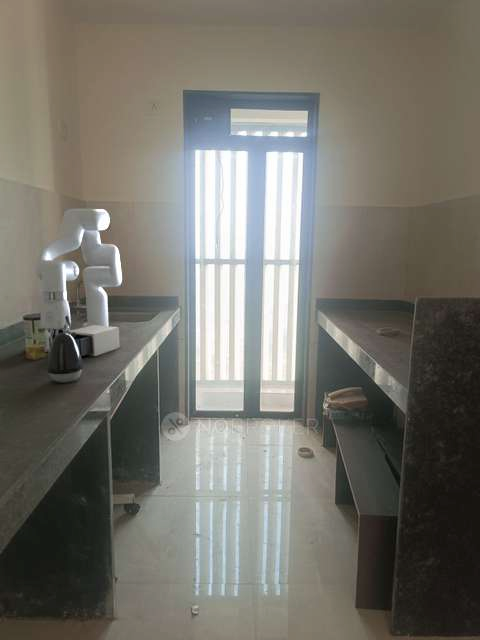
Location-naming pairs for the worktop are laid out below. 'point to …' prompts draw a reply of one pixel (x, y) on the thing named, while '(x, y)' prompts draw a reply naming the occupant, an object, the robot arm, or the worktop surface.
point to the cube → (35, 351)
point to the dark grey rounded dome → (64, 359)
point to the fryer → (100, 338)
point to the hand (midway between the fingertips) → (57, 347)
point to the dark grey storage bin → (82, 344)
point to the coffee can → (36, 331)
